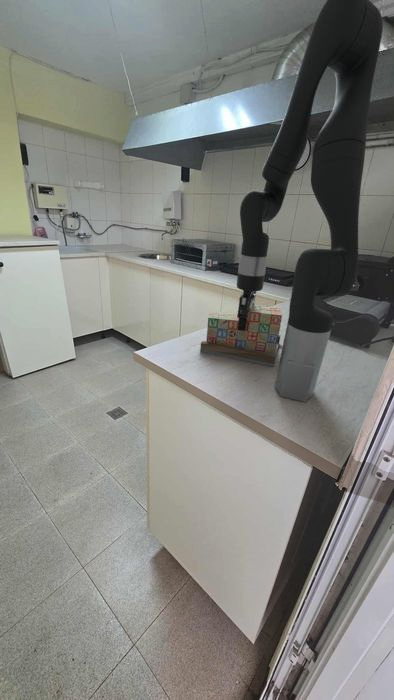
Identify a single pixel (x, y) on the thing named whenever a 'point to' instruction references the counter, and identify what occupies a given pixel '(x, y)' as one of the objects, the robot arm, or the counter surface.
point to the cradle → (241, 353)
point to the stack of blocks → (256, 335)
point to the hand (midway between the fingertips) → (244, 325)
